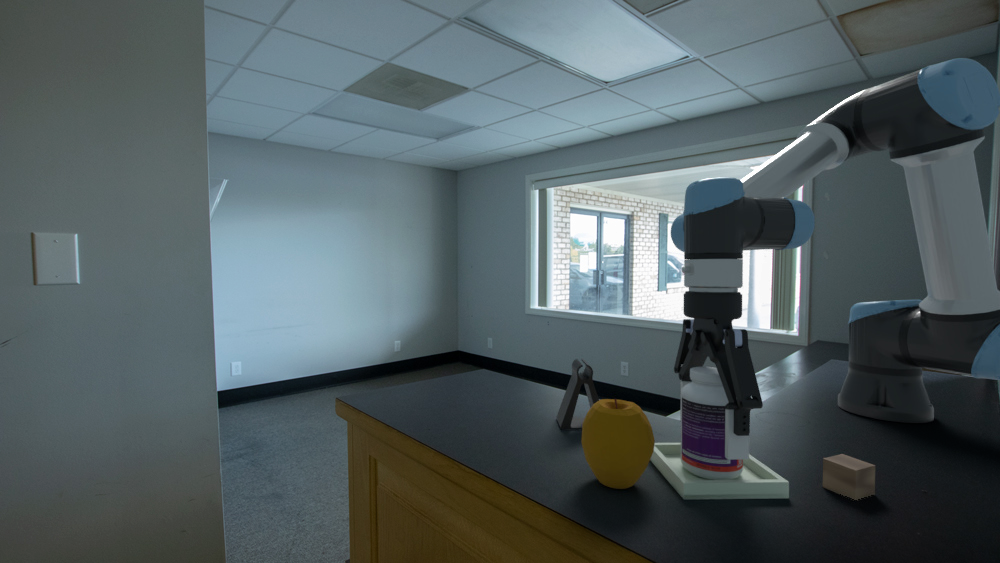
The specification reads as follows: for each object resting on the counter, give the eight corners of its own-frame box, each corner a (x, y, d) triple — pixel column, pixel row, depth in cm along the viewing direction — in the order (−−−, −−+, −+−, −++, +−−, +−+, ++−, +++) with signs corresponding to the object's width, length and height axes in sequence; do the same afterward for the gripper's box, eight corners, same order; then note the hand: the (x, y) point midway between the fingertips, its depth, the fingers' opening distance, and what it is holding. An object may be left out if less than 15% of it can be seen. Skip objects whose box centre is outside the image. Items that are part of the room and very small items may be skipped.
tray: (732, 455, 72) (732, 442, 72) (788, 498, 58) (789, 482, 58) (646, 456, 71) (646, 442, 71) (683, 499, 58) (683, 483, 58)
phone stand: (560, 429, 83) (560, 364, 83) (556, 419, 89) (556, 358, 89) (609, 429, 83) (609, 365, 83) (601, 419, 89) (602, 358, 89)
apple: (650, 471, 66) (651, 391, 66) (658, 504, 57) (659, 411, 56) (582, 464, 68) (583, 387, 68) (579, 495, 59) (579, 405, 58)
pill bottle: (751, 486, 60) (752, 378, 60) (686, 481, 61) (687, 375, 61) (732, 461, 68) (733, 365, 68) (675, 457, 69) (676, 363, 69)
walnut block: (841, 482, 63) (842, 453, 63) (874, 495, 59) (875, 465, 59) (822, 487, 61) (823, 458, 61) (855, 501, 57) (855, 470, 57)
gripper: (654, 287, 76) (653, 411, 77) (733, 294, 52) (731, 478, 52) (698, 286, 77) (696, 411, 77) (798, 294, 52) (795, 478, 52)
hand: (710, 438), depth 65 cm, fingers open, 13 cm apart
